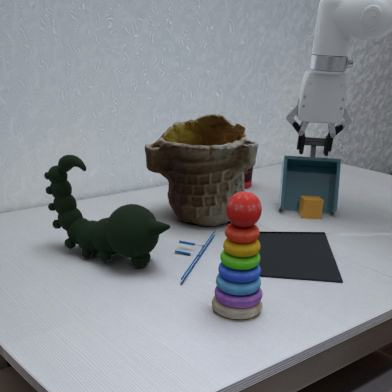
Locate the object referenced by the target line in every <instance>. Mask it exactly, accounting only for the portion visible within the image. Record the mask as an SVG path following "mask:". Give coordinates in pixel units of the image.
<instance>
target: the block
mask: <svg viewBox="0 0 392 392" xmlns="http://www.w3.org/2000/svg"><path fill="white" fill-rule="evenodd" d="M323 203H324V200H323V199H321V198H320V197H318V196H300V203H299V210H298V211H297V213H298V215H299V216H300V218H301V219H306V220H307V219H309V220H322V215H323V213H322V209H323Z"/></svg>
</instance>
